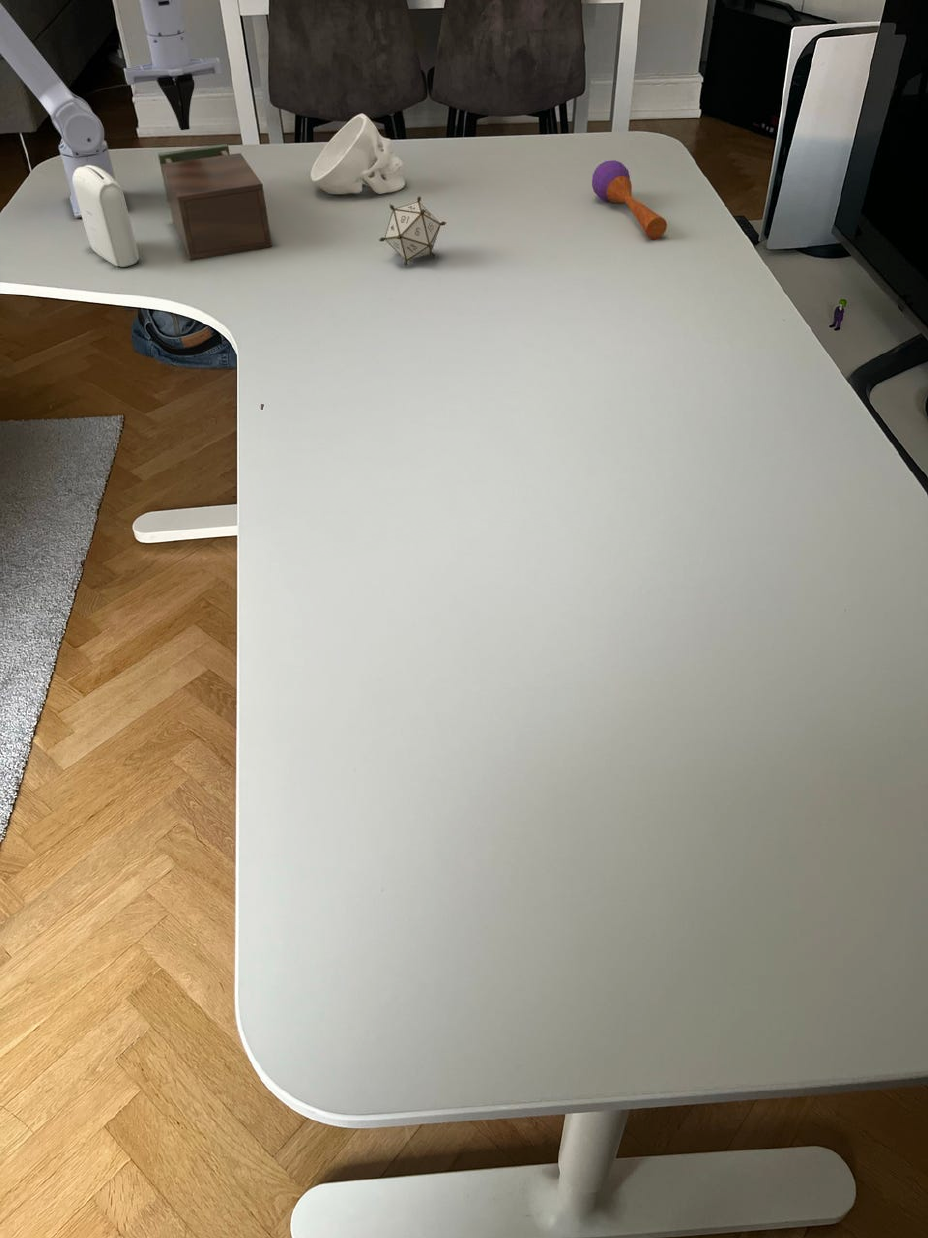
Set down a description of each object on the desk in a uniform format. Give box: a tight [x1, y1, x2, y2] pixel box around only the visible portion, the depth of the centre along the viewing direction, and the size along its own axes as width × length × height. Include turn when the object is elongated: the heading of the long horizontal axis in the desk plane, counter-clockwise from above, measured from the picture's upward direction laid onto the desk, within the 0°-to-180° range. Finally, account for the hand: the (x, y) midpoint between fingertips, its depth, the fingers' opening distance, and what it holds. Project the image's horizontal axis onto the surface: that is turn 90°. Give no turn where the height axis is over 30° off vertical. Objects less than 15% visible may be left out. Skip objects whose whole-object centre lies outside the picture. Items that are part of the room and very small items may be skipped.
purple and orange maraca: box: [591, 159, 668, 240], centre depth 153 cm, size 6×6×20 cm
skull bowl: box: [309, 113, 406, 195], centre depth 163 cm, size 10×14×12 cm
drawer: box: [157, 143, 231, 203], centre depth 156 cm, size 18×11×7 cm, turn 22°
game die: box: [378, 195, 447, 268], centre depth 141 cm, size 9×8×10 cm
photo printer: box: [72, 165, 140, 268], centre depth 142 cm, size 10×4×12 cm, turn 39°
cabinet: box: [160, 152, 273, 261], centre depth 148 cm, size 15×12×9 cm
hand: (184, 127), depth 159 cm, fingers closed
